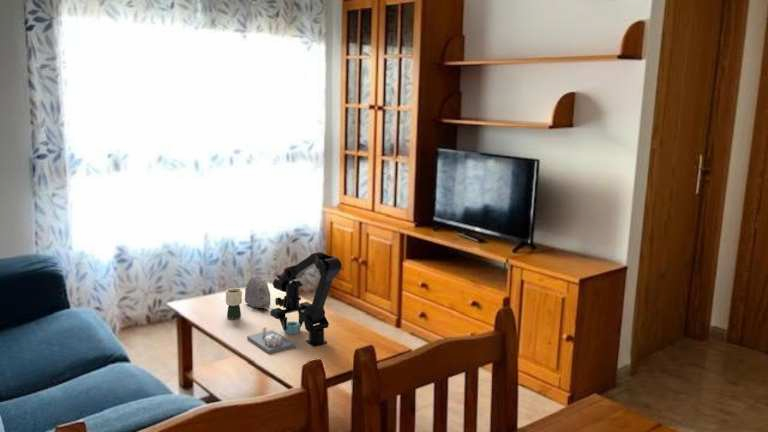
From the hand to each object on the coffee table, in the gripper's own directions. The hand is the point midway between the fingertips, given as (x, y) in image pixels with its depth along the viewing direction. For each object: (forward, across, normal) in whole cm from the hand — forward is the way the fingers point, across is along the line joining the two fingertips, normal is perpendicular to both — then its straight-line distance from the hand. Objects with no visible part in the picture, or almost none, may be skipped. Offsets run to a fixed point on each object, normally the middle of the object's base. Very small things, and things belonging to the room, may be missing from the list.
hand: (292, 328), depth 282 cm
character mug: (+2, +13, -29) cm, 32 cm away
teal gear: (+1, 0, 0) cm, 1 cm away
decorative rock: (+2, -3, -36) cm, 36 cm away
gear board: (+1, +14, +6) cm, 15 cm away
